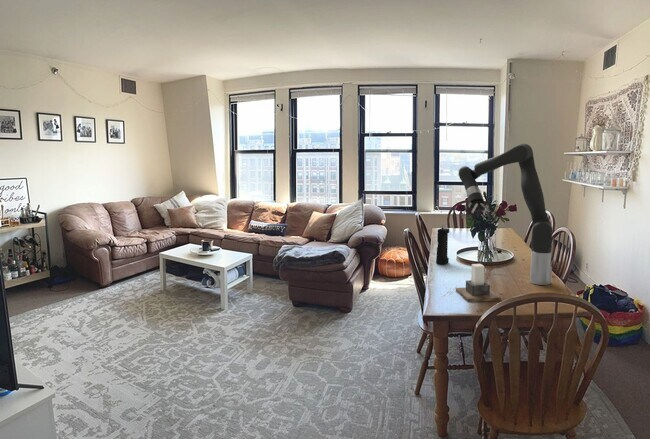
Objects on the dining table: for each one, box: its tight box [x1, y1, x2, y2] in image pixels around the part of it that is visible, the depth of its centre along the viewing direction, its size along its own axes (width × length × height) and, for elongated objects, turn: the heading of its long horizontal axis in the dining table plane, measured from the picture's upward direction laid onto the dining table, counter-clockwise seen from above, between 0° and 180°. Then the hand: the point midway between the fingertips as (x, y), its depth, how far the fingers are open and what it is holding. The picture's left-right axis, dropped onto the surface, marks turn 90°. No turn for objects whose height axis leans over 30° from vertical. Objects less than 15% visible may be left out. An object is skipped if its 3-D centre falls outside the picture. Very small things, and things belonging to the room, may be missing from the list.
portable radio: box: [435, 225, 450, 266], centre depth 259 cm, size 8×6×25 cm
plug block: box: [470, 263, 485, 285], centre depth 200 cm, size 4×4×14 cm
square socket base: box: [455, 279, 502, 303], centre depth 201 cm, size 16×16×6 cm
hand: (482, 219), depth 215 cm, fingers open, 8 cm apart
